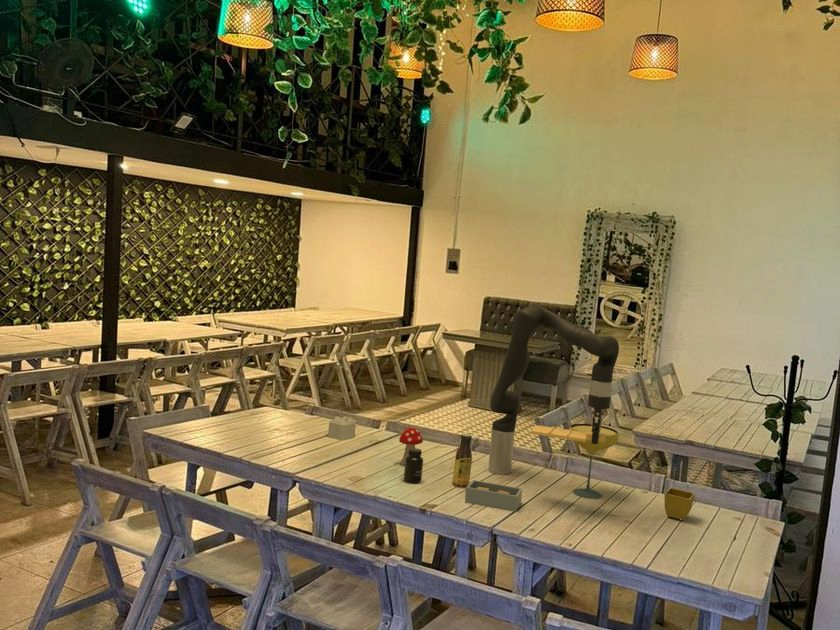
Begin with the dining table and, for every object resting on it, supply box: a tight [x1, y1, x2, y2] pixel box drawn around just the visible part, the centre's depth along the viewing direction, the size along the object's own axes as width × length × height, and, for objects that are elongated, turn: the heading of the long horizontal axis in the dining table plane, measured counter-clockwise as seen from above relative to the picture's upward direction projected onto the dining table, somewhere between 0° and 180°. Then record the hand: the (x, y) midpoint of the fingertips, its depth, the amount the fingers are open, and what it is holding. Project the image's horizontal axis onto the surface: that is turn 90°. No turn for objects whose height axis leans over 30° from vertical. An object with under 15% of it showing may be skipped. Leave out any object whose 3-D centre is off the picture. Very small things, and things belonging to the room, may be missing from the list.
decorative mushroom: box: [398, 427, 424, 466], centre depth 295 cm, size 10×9×15 cm
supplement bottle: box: [403, 447, 424, 484], centre depth 274 cm, size 7×7×12 cm
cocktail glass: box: [569, 423, 619, 499], centre depth 276 cm, size 18×18×25 cm
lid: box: [530, 424, 606, 442], centre depth 256 cm, size 11×25×2 cm, turn 72°
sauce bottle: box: [452, 433, 473, 489], centre depth 271 cm, size 6×6×20 cm
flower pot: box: [664, 487, 696, 521], centre depth 258 cm, size 9×9×9 cm
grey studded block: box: [327, 415, 357, 441], centre depth 331 cm, size 10×13×9 cm
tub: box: [464, 479, 523, 513], centre depth 255 cm, size 10×18×6 cm, turn 73°
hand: (595, 442), depth 253 cm, fingers closed on lid, 3 cm apart
